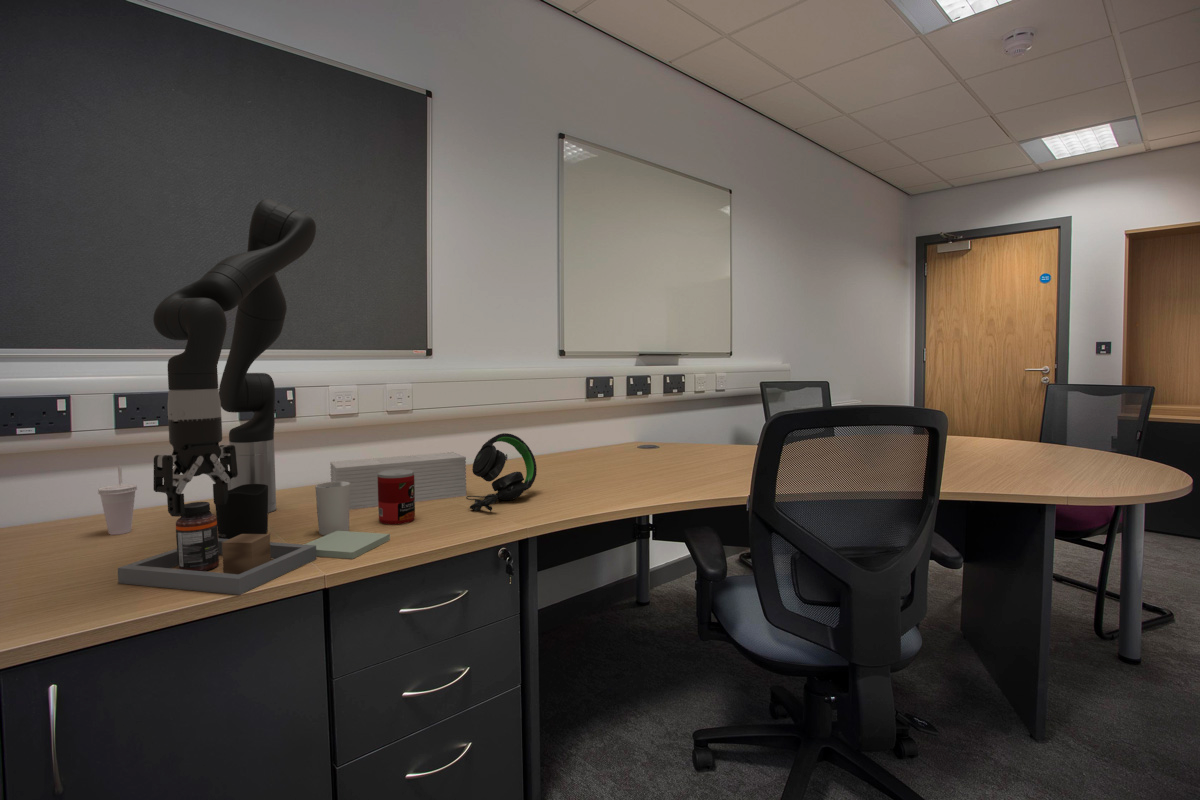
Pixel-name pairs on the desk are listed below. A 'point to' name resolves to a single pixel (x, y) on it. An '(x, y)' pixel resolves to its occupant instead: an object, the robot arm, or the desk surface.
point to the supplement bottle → (197, 538)
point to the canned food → (396, 496)
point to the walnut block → (245, 552)
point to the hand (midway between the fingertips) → (199, 509)
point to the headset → (493, 463)
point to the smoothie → (118, 505)
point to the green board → (347, 543)
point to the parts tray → (161, 574)
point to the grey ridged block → (431, 471)
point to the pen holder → (243, 511)
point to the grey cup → (333, 506)
